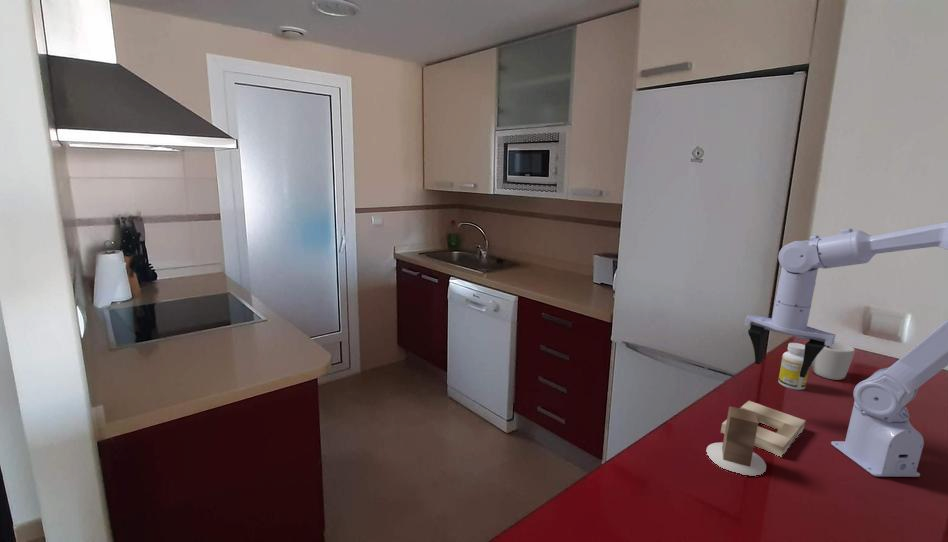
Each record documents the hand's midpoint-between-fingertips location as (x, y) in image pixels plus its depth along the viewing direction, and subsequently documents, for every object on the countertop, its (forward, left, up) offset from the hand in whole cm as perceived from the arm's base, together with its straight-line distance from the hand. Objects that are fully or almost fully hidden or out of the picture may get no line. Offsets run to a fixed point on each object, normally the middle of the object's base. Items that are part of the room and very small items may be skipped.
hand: (780, 369), depth 93 cm
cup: (+21, -27, -11) cm, 35 cm away
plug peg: (-14, +16, -10) cm, 23 cm away
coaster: (-14, +16, -10) cm, 24 cm away
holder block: (-5, +5, -10) cm, 13 cm away
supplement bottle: (+15, -15, -11) cm, 23 cm away
